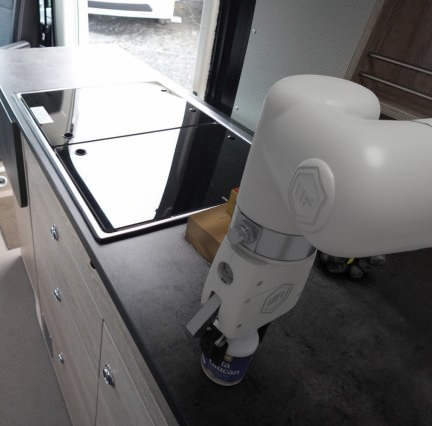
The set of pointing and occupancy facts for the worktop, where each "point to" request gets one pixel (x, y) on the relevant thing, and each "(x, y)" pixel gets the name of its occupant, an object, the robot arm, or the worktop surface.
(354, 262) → the fruit
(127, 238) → the worktop surface
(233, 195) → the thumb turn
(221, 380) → the pill bottle
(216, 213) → the brown flat block
